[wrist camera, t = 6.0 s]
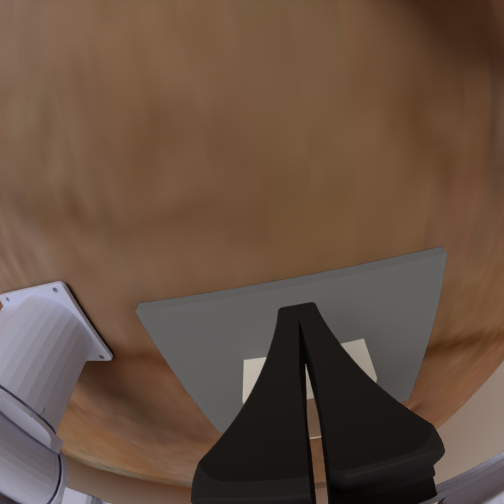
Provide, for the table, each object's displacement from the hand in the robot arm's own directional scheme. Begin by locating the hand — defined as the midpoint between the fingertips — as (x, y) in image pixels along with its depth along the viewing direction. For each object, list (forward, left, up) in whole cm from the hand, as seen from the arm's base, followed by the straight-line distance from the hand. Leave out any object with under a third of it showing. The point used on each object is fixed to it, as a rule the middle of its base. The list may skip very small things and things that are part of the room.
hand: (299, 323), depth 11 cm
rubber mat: (0, -11, -6) cm, 13 cm away
